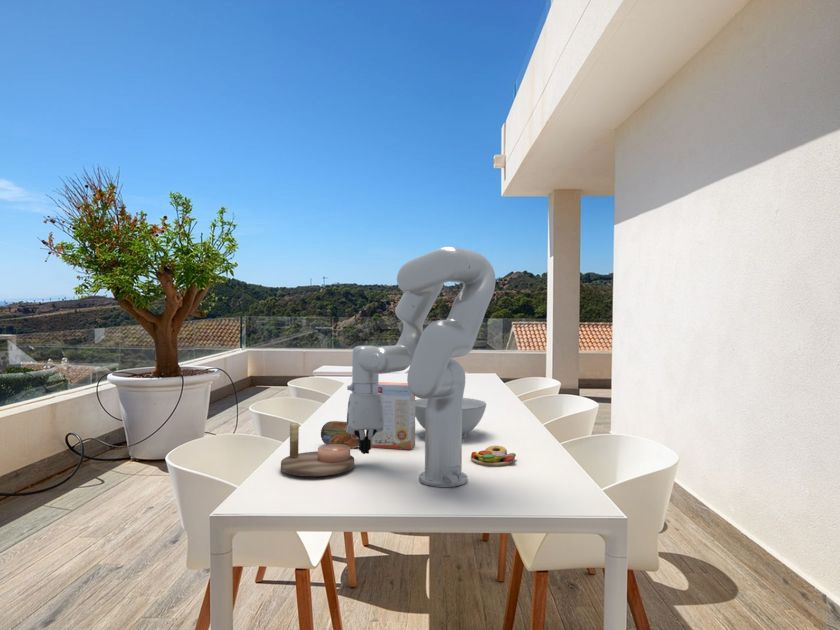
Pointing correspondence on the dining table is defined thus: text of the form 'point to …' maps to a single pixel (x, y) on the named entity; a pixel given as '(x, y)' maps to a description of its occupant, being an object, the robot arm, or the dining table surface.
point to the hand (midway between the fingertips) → (364, 452)
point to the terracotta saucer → (333, 453)
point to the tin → (338, 434)
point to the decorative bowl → (470, 413)
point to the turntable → (309, 460)
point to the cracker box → (396, 417)
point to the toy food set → (493, 456)
